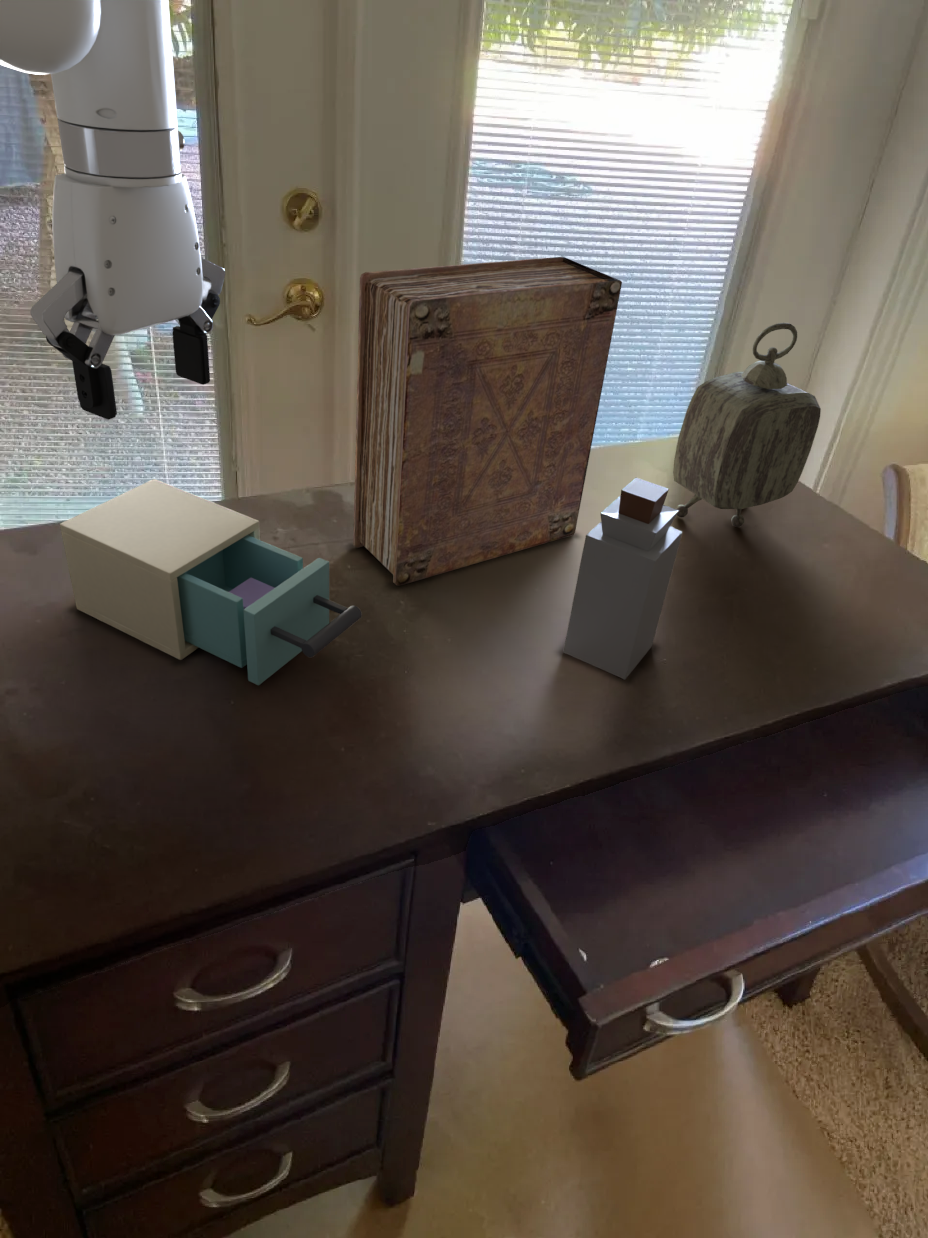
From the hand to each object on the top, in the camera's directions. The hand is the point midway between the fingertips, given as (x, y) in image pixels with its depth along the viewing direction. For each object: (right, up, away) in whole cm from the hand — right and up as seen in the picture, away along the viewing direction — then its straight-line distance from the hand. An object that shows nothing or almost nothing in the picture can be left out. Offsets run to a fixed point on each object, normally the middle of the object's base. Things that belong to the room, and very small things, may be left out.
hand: (148, 395), depth 70 cm
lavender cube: (+5, -19, +14) cm, 24 cm away
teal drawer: (+6, -20, +14) cm, 25 cm away
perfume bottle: (+39, -21, +20) cm, 48 cm away
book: (+25, -9, +34) cm, 43 cm away
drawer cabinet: (-4, -16, +19) cm, 25 cm away
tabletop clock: (+58, -5, +44) cm, 73 cm away
